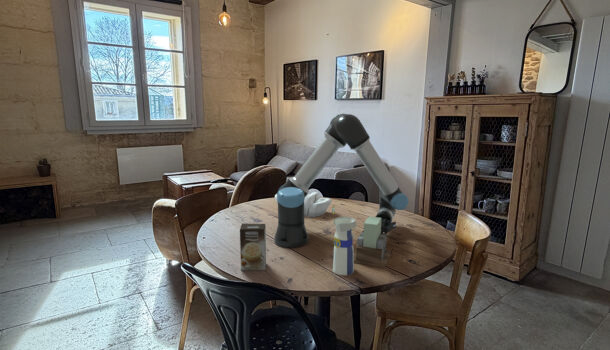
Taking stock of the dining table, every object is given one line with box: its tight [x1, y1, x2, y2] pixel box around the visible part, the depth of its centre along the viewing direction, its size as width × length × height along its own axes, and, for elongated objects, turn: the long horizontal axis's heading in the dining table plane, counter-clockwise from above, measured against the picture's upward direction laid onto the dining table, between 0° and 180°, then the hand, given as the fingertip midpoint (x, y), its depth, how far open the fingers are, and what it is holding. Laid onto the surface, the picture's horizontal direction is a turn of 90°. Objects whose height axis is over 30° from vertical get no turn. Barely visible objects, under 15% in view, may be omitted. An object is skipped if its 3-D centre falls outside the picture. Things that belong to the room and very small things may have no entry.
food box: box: [239, 223, 267, 271], centre depth 124 cm, size 9×6×16 cm
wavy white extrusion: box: [274, 191, 333, 218], centre depth 194 cm, size 35×16×11 cm, turn 62°
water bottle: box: [331, 204, 358, 276], centre depth 120 cm, size 8×9×25 cm
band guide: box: [354, 230, 392, 269], centre depth 133 cm, size 15×13×9 cm
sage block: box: [363, 215, 381, 249], centre depth 132 cm, size 9×5×14 cm, turn 157°
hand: (375, 235), depth 136 cm, fingers closed
